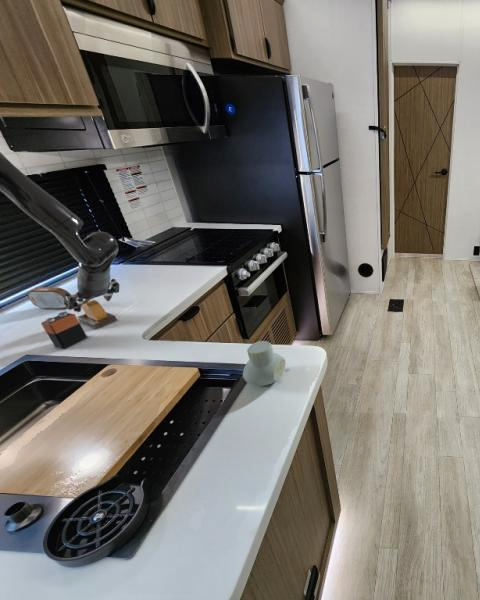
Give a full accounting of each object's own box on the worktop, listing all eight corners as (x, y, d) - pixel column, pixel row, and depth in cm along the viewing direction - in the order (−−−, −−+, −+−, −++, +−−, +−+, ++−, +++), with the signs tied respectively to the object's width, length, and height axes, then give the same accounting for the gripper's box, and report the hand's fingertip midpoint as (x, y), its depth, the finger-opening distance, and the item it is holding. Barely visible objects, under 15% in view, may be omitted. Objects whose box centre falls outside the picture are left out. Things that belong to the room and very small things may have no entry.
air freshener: (262, 363, 94) (254, 334, 89) (289, 365, 93) (283, 335, 89) (242, 390, 84) (232, 359, 80) (273, 392, 84) (264, 361, 79)
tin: (78, 306, 128) (68, 286, 124) (71, 309, 125) (60, 290, 121) (41, 306, 128) (29, 286, 124) (33, 309, 126) (21, 290, 122)
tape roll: (100, 328, 115) (93, 310, 110) (86, 317, 117) (79, 299, 112) (110, 323, 117) (104, 306, 113) (96, 313, 119) (89, 296, 115)
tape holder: (96, 329, 112) (93, 324, 111) (79, 321, 117) (76, 316, 116) (117, 320, 117) (115, 315, 116) (100, 313, 122) (98, 308, 121)
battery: (88, 337, 108) (73, 311, 103) (64, 349, 102) (47, 322, 97) (79, 335, 109) (64, 309, 104) (54, 347, 103) (38, 320, 98)
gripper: (111, 262, 108) (108, 287, 119) (56, 278, 97) (58, 305, 107) (127, 280, 109) (122, 303, 119) (74, 298, 98) (74, 322, 108)
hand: (92, 304), depth 113 cm, fingers open, 8 cm apart
